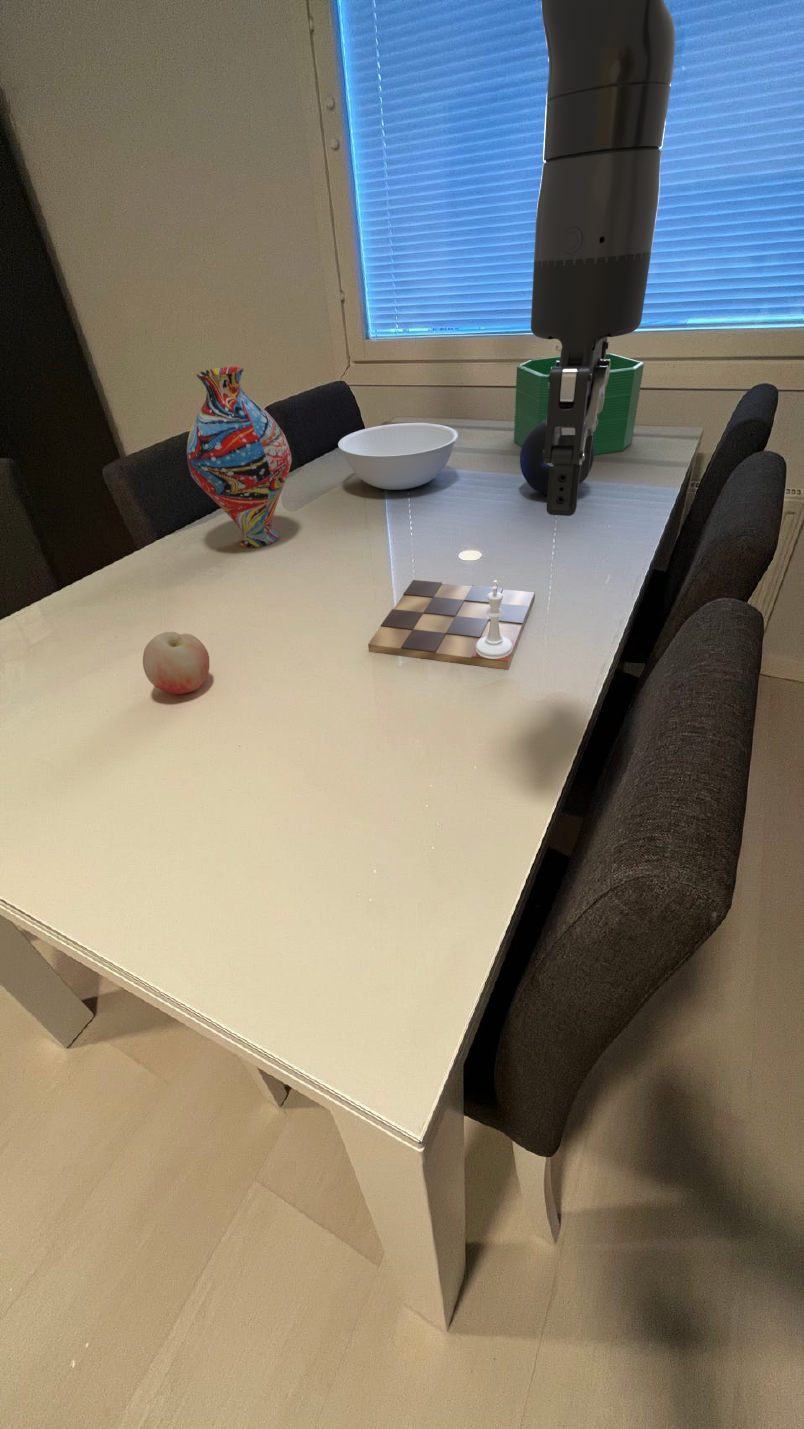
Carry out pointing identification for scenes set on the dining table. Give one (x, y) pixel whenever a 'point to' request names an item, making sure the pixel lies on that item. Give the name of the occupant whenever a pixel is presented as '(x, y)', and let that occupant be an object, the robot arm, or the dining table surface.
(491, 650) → the chess piece
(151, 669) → the fruit
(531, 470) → the decorative sphere
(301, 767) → the dining table surface
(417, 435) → the bowl
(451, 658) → the game board
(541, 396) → the planter
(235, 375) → the vase
